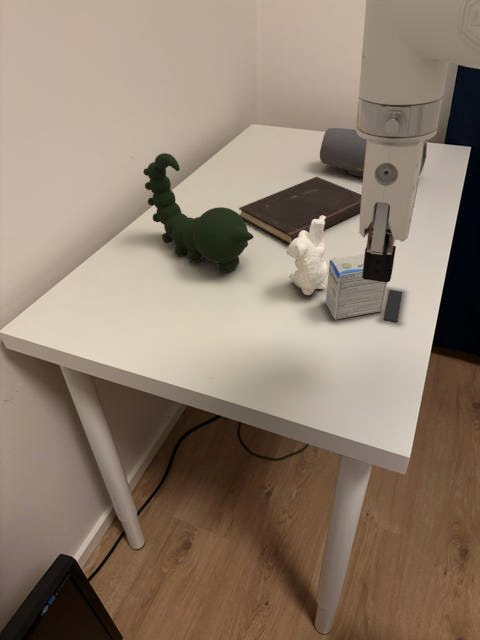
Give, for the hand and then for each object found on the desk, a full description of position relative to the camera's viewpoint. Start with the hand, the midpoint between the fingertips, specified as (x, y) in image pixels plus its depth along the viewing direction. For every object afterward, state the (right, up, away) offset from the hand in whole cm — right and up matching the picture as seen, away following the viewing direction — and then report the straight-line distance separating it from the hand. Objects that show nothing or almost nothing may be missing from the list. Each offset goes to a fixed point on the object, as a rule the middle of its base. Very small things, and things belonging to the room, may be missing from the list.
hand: (376, 277), depth 57 cm
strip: (+8, -3, +20) cm, 21 cm away
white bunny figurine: (-5, 0, +24) cm, 25 cm away
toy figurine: (-23, +7, +33) cm, 41 cm away
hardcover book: (-2, +17, +45) cm, 48 cm away
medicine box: (+2, -3, +20) cm, 20 cm away
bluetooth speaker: (+15, +29, +59) cm, 67 cm away
